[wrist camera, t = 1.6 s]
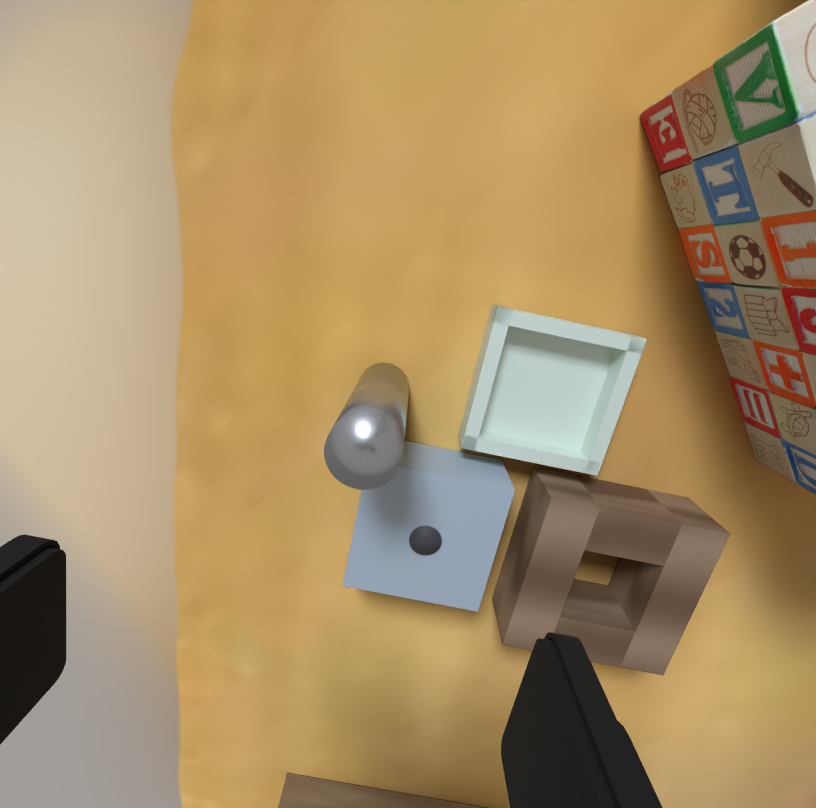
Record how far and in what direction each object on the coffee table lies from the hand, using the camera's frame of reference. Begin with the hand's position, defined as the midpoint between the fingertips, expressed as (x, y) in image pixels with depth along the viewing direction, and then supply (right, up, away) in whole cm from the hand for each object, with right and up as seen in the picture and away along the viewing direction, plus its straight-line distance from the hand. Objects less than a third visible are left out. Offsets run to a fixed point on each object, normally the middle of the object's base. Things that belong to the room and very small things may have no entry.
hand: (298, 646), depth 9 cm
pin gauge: (+1, +6, +18) cm, 19 cm away
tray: (+10, +6, +18) cm, 21 cm away
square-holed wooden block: (+14, -5, +21) cm, 25 cm away
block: (+3, -2, +20) cm, 20 cm away
